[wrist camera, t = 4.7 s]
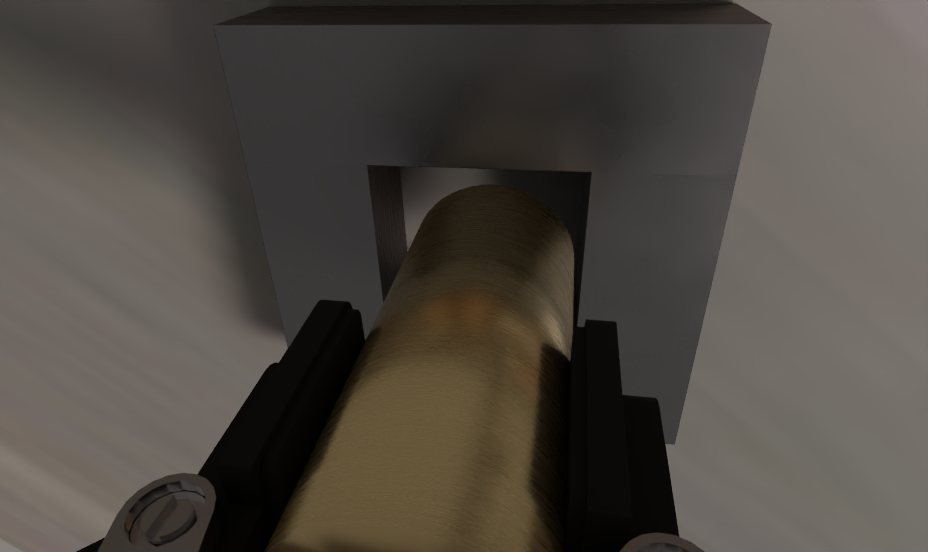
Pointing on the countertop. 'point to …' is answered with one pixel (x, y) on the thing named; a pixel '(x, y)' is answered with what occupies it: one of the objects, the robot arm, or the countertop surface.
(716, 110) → the grey square frame
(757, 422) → the countertop surface
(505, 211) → the key peg
